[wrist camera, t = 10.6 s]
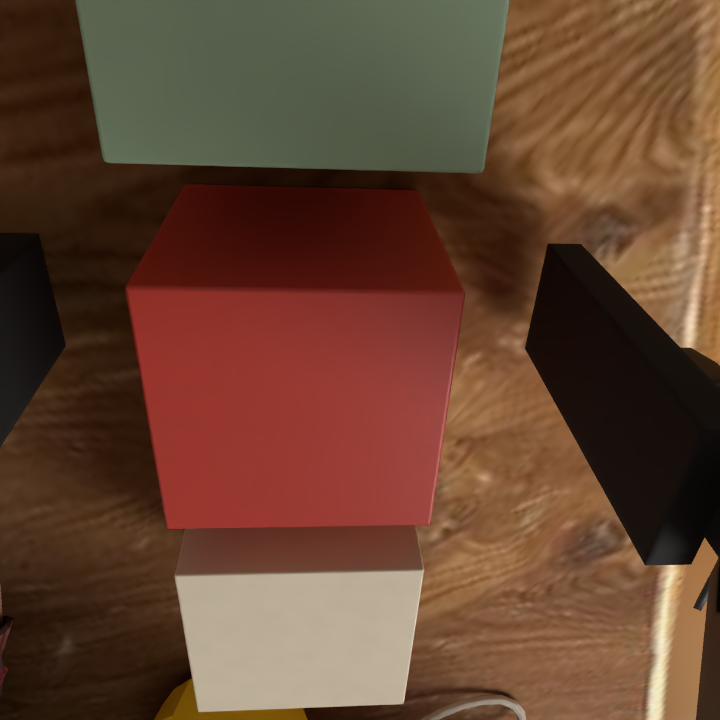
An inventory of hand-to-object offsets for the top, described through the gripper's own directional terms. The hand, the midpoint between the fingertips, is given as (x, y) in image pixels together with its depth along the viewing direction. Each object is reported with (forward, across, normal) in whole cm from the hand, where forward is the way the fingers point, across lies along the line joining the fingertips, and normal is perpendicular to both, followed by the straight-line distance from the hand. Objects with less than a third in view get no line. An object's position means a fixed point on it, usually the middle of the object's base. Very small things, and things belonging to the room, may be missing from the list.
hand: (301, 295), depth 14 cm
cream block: (+1, 0, -6) cm, 7 cm away
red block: (+1, 0, 0) cm, 1 cm away
